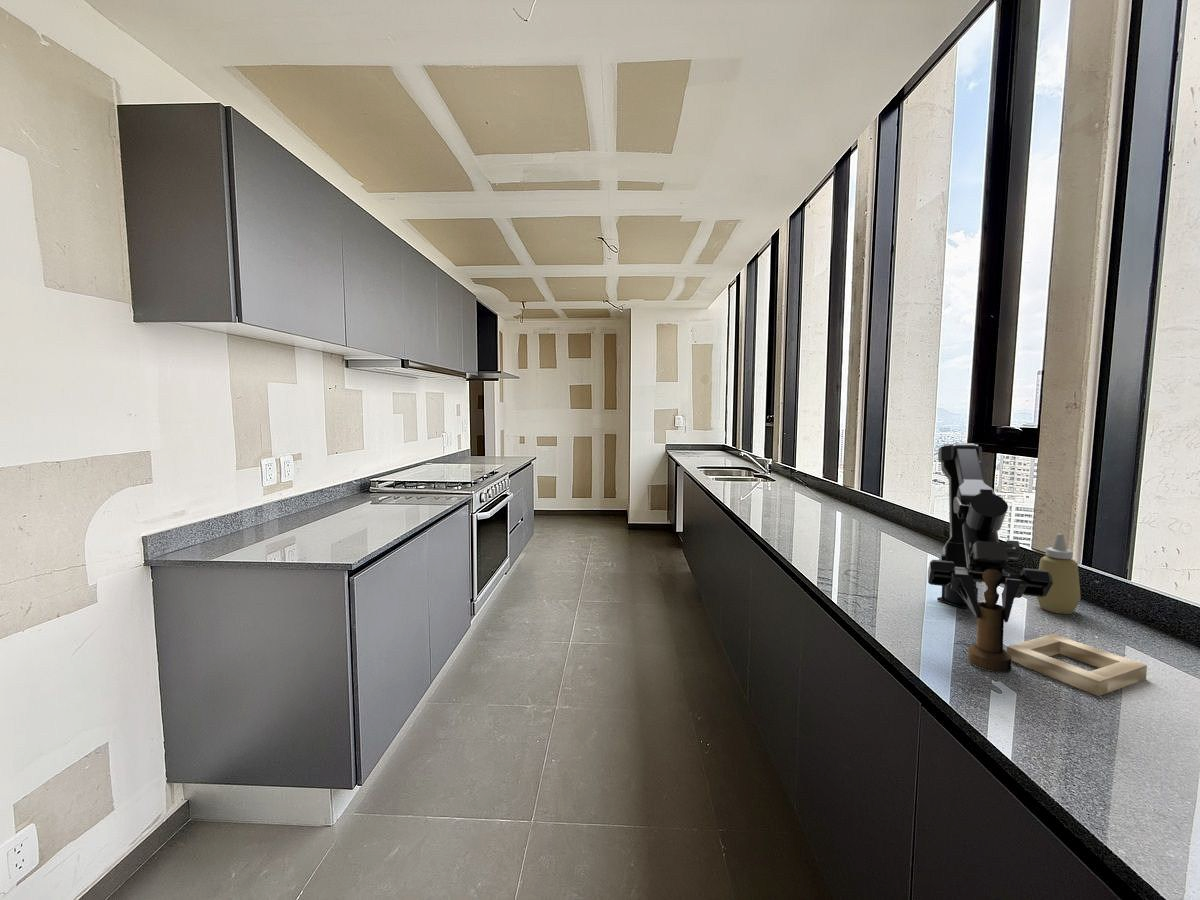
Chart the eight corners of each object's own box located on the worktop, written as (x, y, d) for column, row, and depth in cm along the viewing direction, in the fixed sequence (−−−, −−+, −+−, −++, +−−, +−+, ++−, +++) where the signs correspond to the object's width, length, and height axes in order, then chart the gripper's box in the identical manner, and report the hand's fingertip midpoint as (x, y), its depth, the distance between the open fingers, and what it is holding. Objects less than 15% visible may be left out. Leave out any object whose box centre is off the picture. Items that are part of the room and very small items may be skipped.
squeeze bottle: (1070, 619, 117) (1073, 540, 115) (1027, 607, 124) (1030, 532, 122) (1086, 612, 120) (1090, 535, 119) (1044, 601, 127) (1047, 528, 126)
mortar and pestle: (958, 656, 100) (962, 564, 99) (990, 654, 101) (994, 563, 99) (987, 674, 94) (991, 576, 92) (1020, 671, 94) (1025, 574, 93)
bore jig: (1006, 659, 99) (1006, 646, 99) (1052, 645, 104) (1053, 633, 104) (1098, 696, 86) (1099, 681, 86) (1146, 679, 91) (1146, 665, 91)
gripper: (931, 519, 103) (936, 591, 94) (1052, 527, 95) (1070, 607, 86) (925, 548, 111) (930, 618, 102) (1037, 558, 102) (1053, 635, 93)
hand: (992, 619), depth 95 cm, fingers closed on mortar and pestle, 4 cm apart
